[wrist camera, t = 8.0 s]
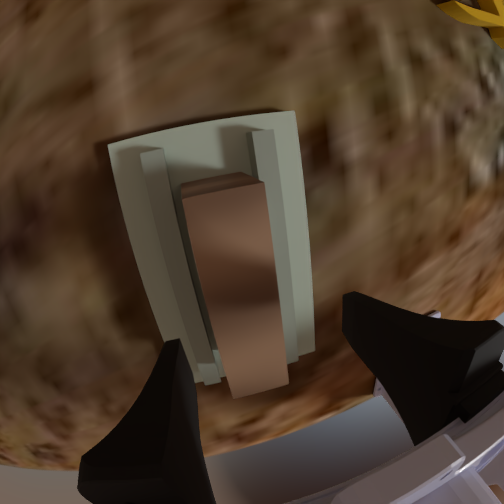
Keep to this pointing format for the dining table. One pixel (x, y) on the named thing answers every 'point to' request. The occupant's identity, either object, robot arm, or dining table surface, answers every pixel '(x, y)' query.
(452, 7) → the decorative art
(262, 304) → the brown box
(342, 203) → the dining table surface
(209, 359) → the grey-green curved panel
